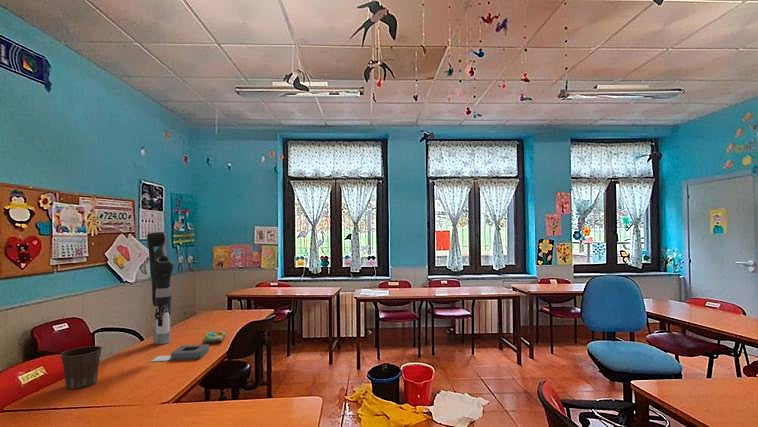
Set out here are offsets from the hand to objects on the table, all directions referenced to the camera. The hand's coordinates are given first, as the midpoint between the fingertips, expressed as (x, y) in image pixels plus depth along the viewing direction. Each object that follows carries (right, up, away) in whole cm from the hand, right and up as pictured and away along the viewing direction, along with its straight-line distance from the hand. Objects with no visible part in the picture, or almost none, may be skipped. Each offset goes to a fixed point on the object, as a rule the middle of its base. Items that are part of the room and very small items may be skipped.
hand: (162, 324), depth 229 cm
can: (0, -5, 0) cm, 5 cm away
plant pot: (-18, -18, -38) cm, 46 cm away
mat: (0, -19, -1) cm, 20 cm away
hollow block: (+14, -20, +5) cm, 24 cm away
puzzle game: (+15, -22, +37) cm, 45 cm away
